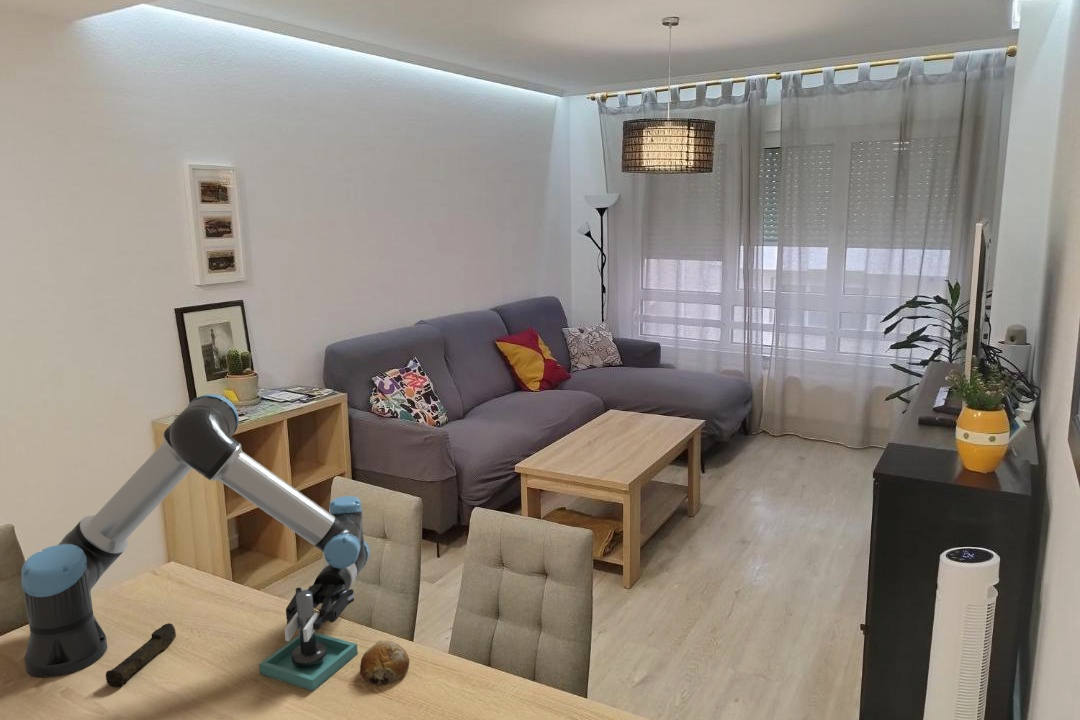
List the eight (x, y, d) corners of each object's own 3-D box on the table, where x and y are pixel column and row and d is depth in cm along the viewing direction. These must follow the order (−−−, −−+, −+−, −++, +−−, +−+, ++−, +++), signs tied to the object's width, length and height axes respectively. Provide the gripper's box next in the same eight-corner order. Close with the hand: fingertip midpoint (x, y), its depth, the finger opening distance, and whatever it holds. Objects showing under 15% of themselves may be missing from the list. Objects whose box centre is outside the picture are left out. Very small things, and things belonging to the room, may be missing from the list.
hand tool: (122, 690, 156) (119, 669, 155) (105, 687, 157) (103, 667, 156) (186, 639, 174) (184, 620, 173) (171, 637, 175) (168, 618, 174)
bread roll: (414, 686, 162) (423, 647, 163) (383, 692, 153) (392, 650, 154) (378, 672, 166) (387, 634, 168) (346, 677, 158) (355, 636, 159)
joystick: (284, 662, 162) (279, 598, 159) (307, 645, 168) (302, 583, 165) (311, 670, 159) (305, 605, 156) (333, 652, 165) (328, 590, 162)
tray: (260, 674, 160) (259, 663, 160) (306, 639, 173) (305, 629, 172) (313, 691, 155) (312, 680, 154) (357, 654, 167) (356, 643, 166)
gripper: (370, 595, 179) (336, 653, 156) (302, 593, 181) (258, 650, 158) (369, 565, 178) (334, 619, 155) (300, 563, 179) (255, 617, 156)
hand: (296, 635), depth 156 cm, fingers closed on joystick, 3 cm apart
